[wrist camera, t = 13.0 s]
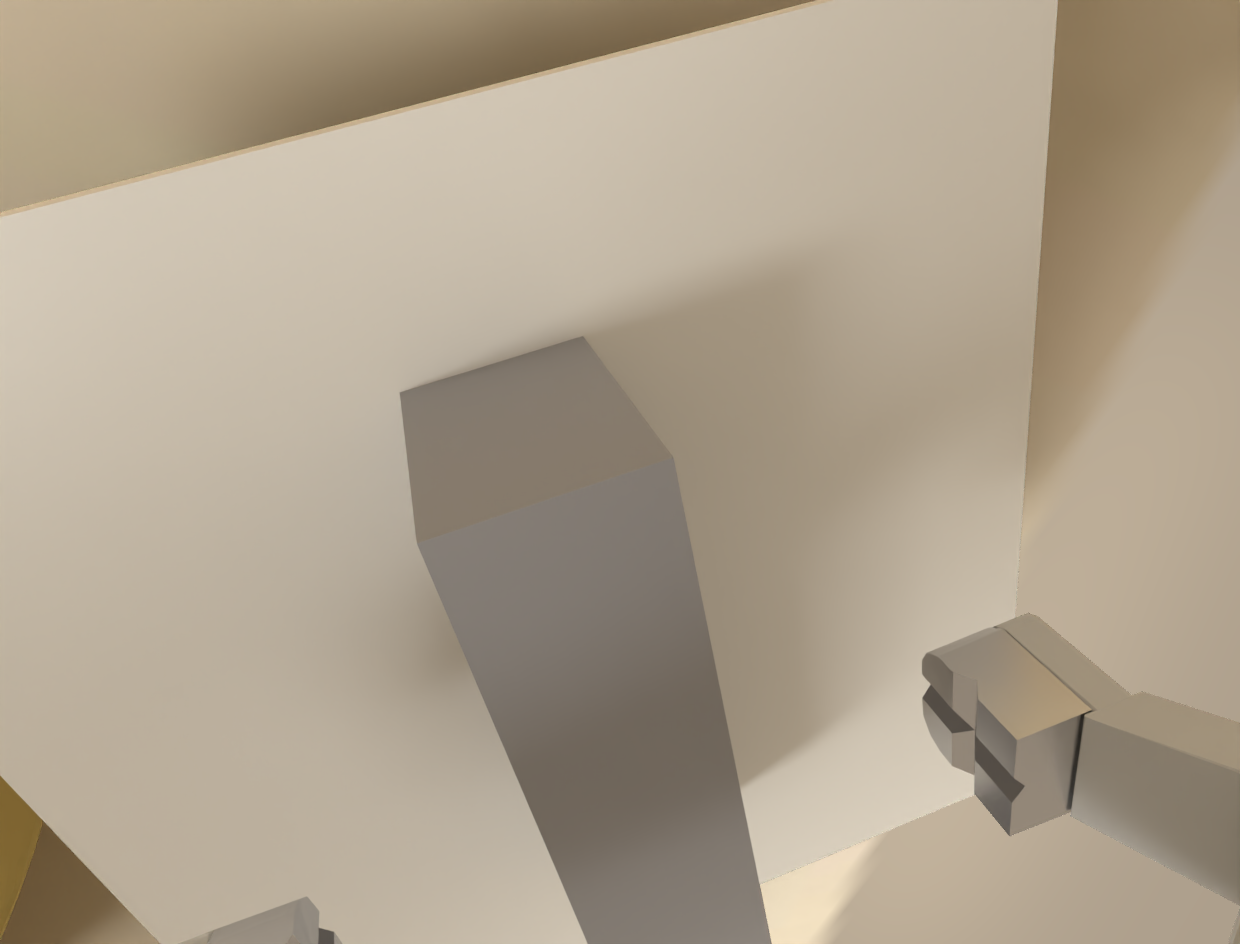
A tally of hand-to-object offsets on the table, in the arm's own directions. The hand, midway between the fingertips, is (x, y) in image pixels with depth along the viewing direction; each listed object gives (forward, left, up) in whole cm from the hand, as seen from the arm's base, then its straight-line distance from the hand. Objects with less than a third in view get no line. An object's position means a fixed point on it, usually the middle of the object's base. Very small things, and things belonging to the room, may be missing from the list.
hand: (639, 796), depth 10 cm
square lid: (0, 0, -4) cm, 4 cm away
